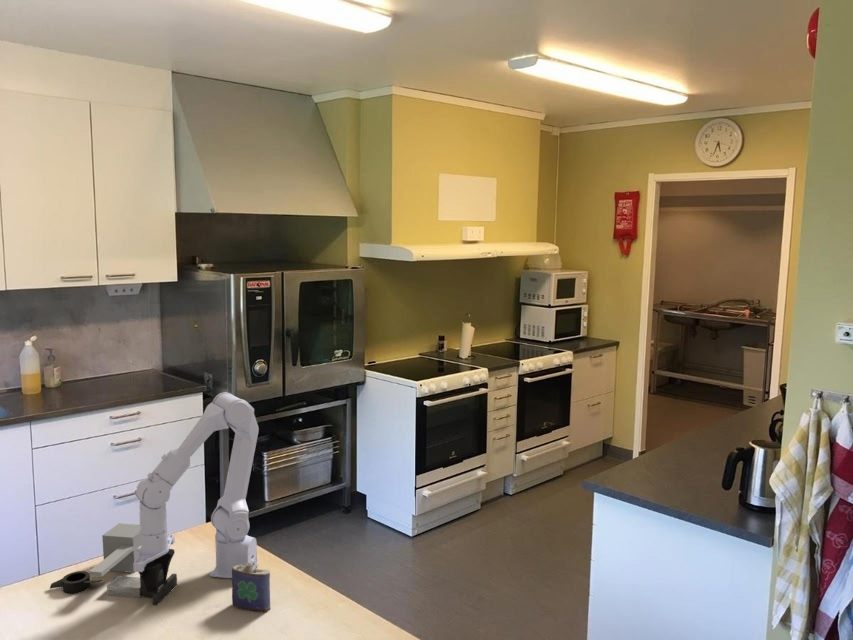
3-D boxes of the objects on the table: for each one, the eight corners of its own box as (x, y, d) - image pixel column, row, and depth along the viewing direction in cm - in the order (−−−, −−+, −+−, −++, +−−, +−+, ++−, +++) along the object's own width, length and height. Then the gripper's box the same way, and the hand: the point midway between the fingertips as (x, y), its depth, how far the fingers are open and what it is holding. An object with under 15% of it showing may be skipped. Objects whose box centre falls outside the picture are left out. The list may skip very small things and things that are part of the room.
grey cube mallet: (149, 559, 175) (148, 525, 174) (102, 600, 156) (100, 563, 154) (120, 556, 176) (118, 523, 175) (70, 597, 157) (68, 560, 155)
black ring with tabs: (79, 601, 156) (78, 589, 155) (46, 592, 159) (45, 580, 159) (106, 585, 163) (105, 573, 163) (74, 577, 166) (73, 565, 166)
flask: (272, 607, 154) (271, 562, 152) (266, 614, 151) (264, 568, 149) (236, 601, 156) (234, 556, 155) (228, 607, 153) (227, 562, 152)
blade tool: (177, 584, 163) (176, 561, 162) (157, 605, 154) (156, 580, 153) (124, 580, 165) (122, 556, 164) (101, 600, 156) (100, 575, 155)
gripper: (154, 516, 164) (156, 569, 166) (119, 543, 150) (122, 601, 152) (181, 518, 163) (184, 571, 165) (149, 545, 149) (152, 604, 151)
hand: (156, 586), depth 158 cm, fingers closed on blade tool, 3 cm apart
